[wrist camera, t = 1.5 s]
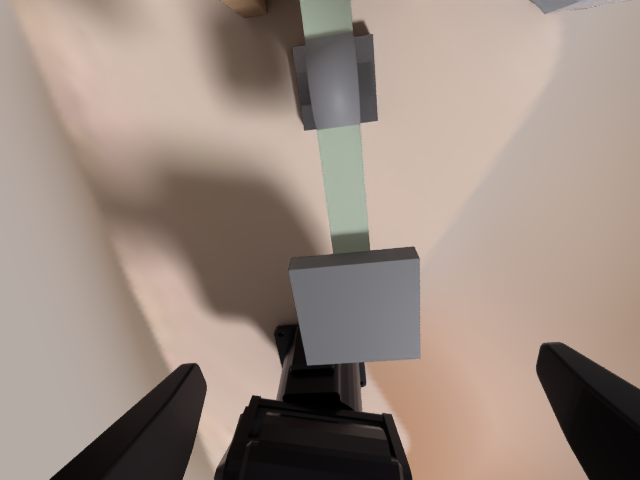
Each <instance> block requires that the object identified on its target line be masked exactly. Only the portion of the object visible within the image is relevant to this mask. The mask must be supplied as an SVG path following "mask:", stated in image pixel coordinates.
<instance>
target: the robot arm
mask: <svg viewBox="0 0 640 480" xmlns="http://www.w3.org/2000/svg"><path fill="white" fill-rule="evenodd" d="M279 332H283V333H279ZM274 336H275V340H276V344H277V348H278V352H279V356H280V360H281V364H282V368H283V369H282V374H281V379H280V384H279V389H278V394H277V399H276V400H271V399H264V398H261V396H254V395H252V398H251V400H250V403H249V406H246V407H245V410H244V412H243V414H241V415H240V418H239V421H238V424H237V427H236V431H235V434H234V437H233V439H232V442H231V444H230V445H229V447H228V449H227V451H226V453H225V454H224V456H223V458H222V460H221V461H220V463H219V465H218V467H217V469H216V472H215V476H214V480H412V475H411V471H410V467H409V464H408V461H407V458H406V455H405V452H404V449H403V446H402V443H401V440H400V437H399V434H398V432H397V429H396V426H395V423H394V420H393V417H392V414H386V413H382V415H381V414H374V413H367V412H362V401H361V387H364V386H365V385H366V374H365V365H364V362H357V363H340V364H323V365H307V361H306V356H305V351H304V346H303V342H302V337H301V332H300V327H299V324H297V325H283V326H278V327H276V329H275V332H274ZM536 372H537V375H538V377H539V380H540V382H541V384H542V387H543V389H544V391H545V393H546V395H547V398H548V400H549V402H550V404H551V407H552V409H553V411H554V413H555V416H556V418H557V420H558V422H559V425H560V427H561V429H562V431H563V433H564V435H565V437H566V439H567V441H568V443H569V445H570V447H571V449H572V451H573V452H574V454H575V456H576V458H577V459H578V461H579V463H580V465H581V466H582V468H583V470H584V472H585V473H586V475H587V477H588V479H589V480H640V389H639V388H637V387H635V386H634V385H632V384H630V383H629V382H627V381H625V380H624V379H622V378H620V377H619V376H617V375H615V374H614V373H612V372H610V371H609V370H607V369H605V368H604V367H602V366H600V365H598V364H597V363H595V362H594V361H592V360H590V359H589V358H587V357H585V356H584V355H582V354H580V353H579V352H577V351H575V350H574V349H572V348H570V347H569V346H567V345H565V344H563V343H561V342H550V343H543V344H542V345H541V347H540V350H539V355H538V359H537V364H536ZM206 391H207V385H206V381H205V379H204V376H203V374H202V372H201V369H200V367H199V365H198V364H196V363H187V364H182V365H180V366H179V367H178V368H177V369H176V370H174V371H173V372H172V373H171V374H170V375H169V376H168V377H166V378H165V379H164V380H163V381H162V382H161V383H160V384H158V385H157V386H156V387H155V388H154V389H153V390H152V391H150V392H149V393H148V394H147V395H146V396H145V397H143V398H142V399H141V400H140V401H139V402H138V403H137V404H135V405H134V406H133V407H132V408H131V409H130V410H129V411H127V412H126V413H125V414H124V415H123V416H122V417H120V419H118V420H117V421H116V422H115V423H114V424H112V425H111V426H110V427H109V428H108V429H107V430H106V431H104V432H103V433H102V434H101V435H100V436H99V437H98V438H96V439H95V440H94V441H93V442H92V443H91V444H90V445H88V446H87V447H86V448H85V449H84V450H83V451H82V452H80V453H79V454H78V455H77V456H76V457H75V458H73V459H72V460H71V461H70V462H69V463H68V464H67V465H65V466H64V467H63V468H62V469H61V470H60V471H59V472H57V473H56V474H55V475H54V476H53V477H52V478H51V479H50V480H182V479H183V477H184V474H185V471H186V468H187V465H188V462H189V459H190V455H191V453H192V449H193V446H194V442H195V438H196V434H197V429H198V425H199V421H200V417H201V412H202V408H203V404H204V400H205V395H206Z"/></svg>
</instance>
